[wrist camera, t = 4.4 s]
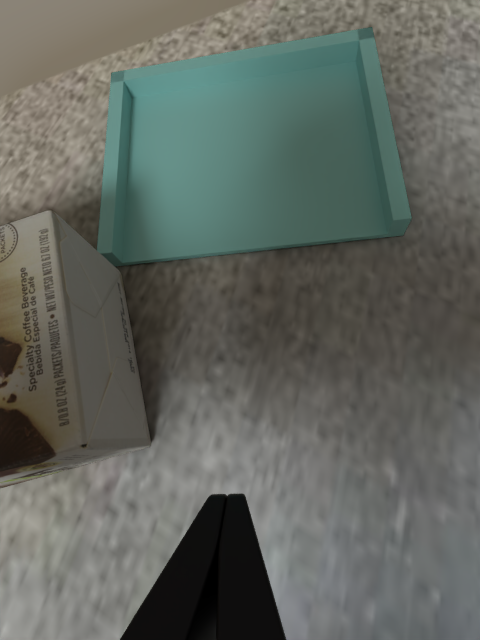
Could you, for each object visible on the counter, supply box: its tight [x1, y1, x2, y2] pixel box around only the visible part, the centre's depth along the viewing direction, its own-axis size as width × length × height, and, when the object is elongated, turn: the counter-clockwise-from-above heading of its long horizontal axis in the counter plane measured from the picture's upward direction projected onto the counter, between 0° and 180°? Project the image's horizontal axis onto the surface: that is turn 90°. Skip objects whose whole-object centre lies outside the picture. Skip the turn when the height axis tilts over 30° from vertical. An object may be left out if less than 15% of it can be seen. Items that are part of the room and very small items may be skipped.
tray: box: [97, 27, 412, 266], centre depth 21 cm, size 12×15×2 cm
